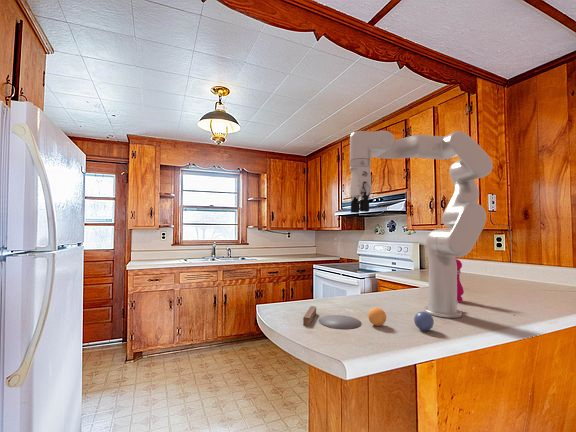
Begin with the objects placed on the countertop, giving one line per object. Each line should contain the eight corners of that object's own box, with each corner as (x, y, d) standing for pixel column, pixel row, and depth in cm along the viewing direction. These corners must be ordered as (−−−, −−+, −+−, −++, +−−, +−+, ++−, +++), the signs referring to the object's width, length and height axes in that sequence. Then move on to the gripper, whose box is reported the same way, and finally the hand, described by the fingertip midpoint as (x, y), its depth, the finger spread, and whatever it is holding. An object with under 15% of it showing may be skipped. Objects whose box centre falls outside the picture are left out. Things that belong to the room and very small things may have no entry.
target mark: (336, 313, 109) (336, 312, 109) (369, 323, 99) (369, 322, 99) (309, 320, 100) (309, 319, 100) (342, 332, 89) (342, 331, 89)
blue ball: (419, 325, 97) (419, 308, 97) (436, 330, 93) (436, 312, 93) (410, 329, 93) (410, 311, 93) (428, 334, 89) (428, 315, 89)
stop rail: (316, 313, 108) (316, 306, 108) (309, 325, 95) (309, 317, 95) (310, 312, 109) (310, 306, 109) (303, 325, 95) (303, 317, 95)
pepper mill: (466, 303, 127) (466, 256, 128) (448, 302, 129) (448, 255, 130) (460, 299, 135) (460, 254, 135) (442, 298, 136) (442, 254, 137)
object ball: (374, 321, 100) (374, 304, 100) (389, 325, 96) (389, 308, 96) (364, 324, 97) (364, 307, 97) (380, 329, 92) (380, 311, 93)
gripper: (379, 161, 102) (379, 211, 101) (361, 170, 119) (361, 213, 118) (358, 160, 101) (357, 210, 100) (343, 169, 118) (342, 212, 117)
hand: (359, 212), depth 109 cm, fingers open, 9 cm apart
